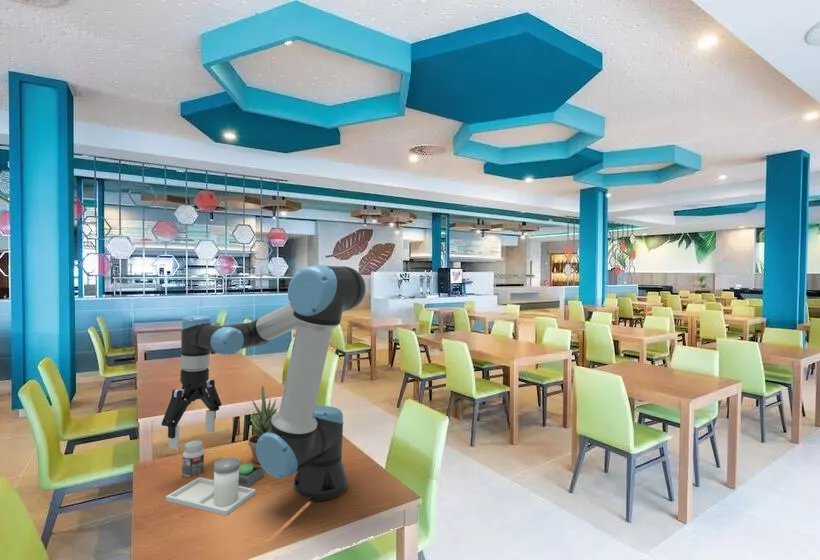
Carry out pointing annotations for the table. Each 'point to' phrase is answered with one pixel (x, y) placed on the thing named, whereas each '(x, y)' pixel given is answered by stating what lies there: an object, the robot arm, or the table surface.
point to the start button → (245, 469)
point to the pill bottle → (193, 459)
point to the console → (251, 477)
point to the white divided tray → (206, 496)
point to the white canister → (226, 481)
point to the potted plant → (261, 423)
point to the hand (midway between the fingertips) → (192, 439)
